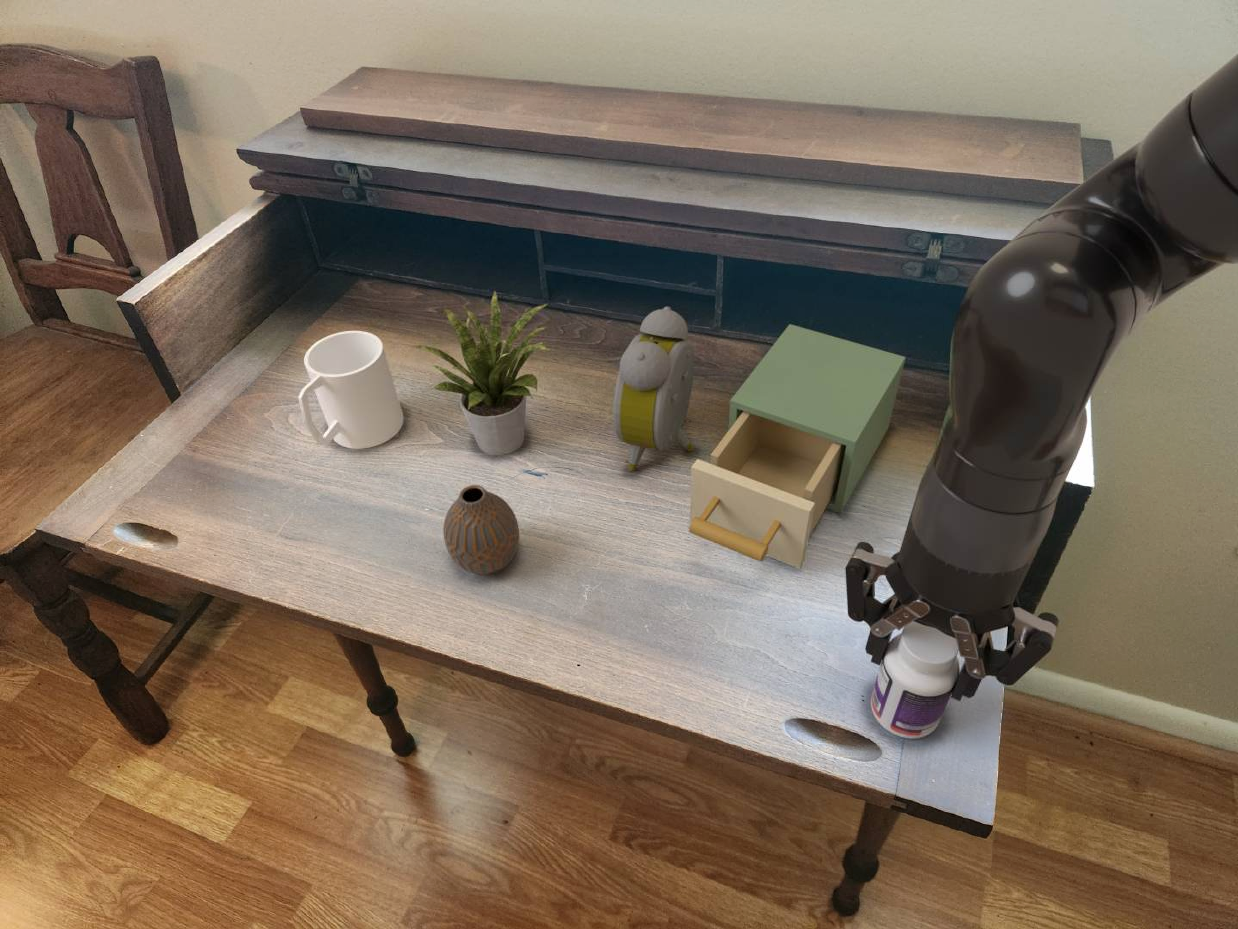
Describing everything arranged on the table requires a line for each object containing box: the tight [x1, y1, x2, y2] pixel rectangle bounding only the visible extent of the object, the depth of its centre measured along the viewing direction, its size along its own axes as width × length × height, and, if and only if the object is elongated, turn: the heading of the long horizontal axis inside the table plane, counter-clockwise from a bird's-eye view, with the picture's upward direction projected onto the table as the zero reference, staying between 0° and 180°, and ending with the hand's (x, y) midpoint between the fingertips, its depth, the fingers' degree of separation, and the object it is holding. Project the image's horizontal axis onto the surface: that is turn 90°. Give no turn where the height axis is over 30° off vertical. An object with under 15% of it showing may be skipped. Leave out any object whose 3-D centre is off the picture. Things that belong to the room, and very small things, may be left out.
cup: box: [297, 330, 405, 450], centre depth 90 cm, size 8×12×10 cm
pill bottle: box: [870, 621, 961, 740], centre depth 63 cm, size 5×5×10 cm
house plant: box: [411, 290, 553, 456], centre depth 86 cm, size 14×14×16 cm
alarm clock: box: [612, 306, 695, 472], centre depth 85 cm, size 12×7×15 cm, turn 160°
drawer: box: [688, 411, 846, 570], centre depth 78 cm, size 18×11×8 cm, turn 149°
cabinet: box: [727, 323, 906, 515], centre depth 85 cm, size 15×13×10 cm
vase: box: [442, 484, 520, 575], centre depth 77 cm, size 7×7×9 cm
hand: (918, 672), depth 63 cm, fingers closed on pill bottle, 5 cm apart
